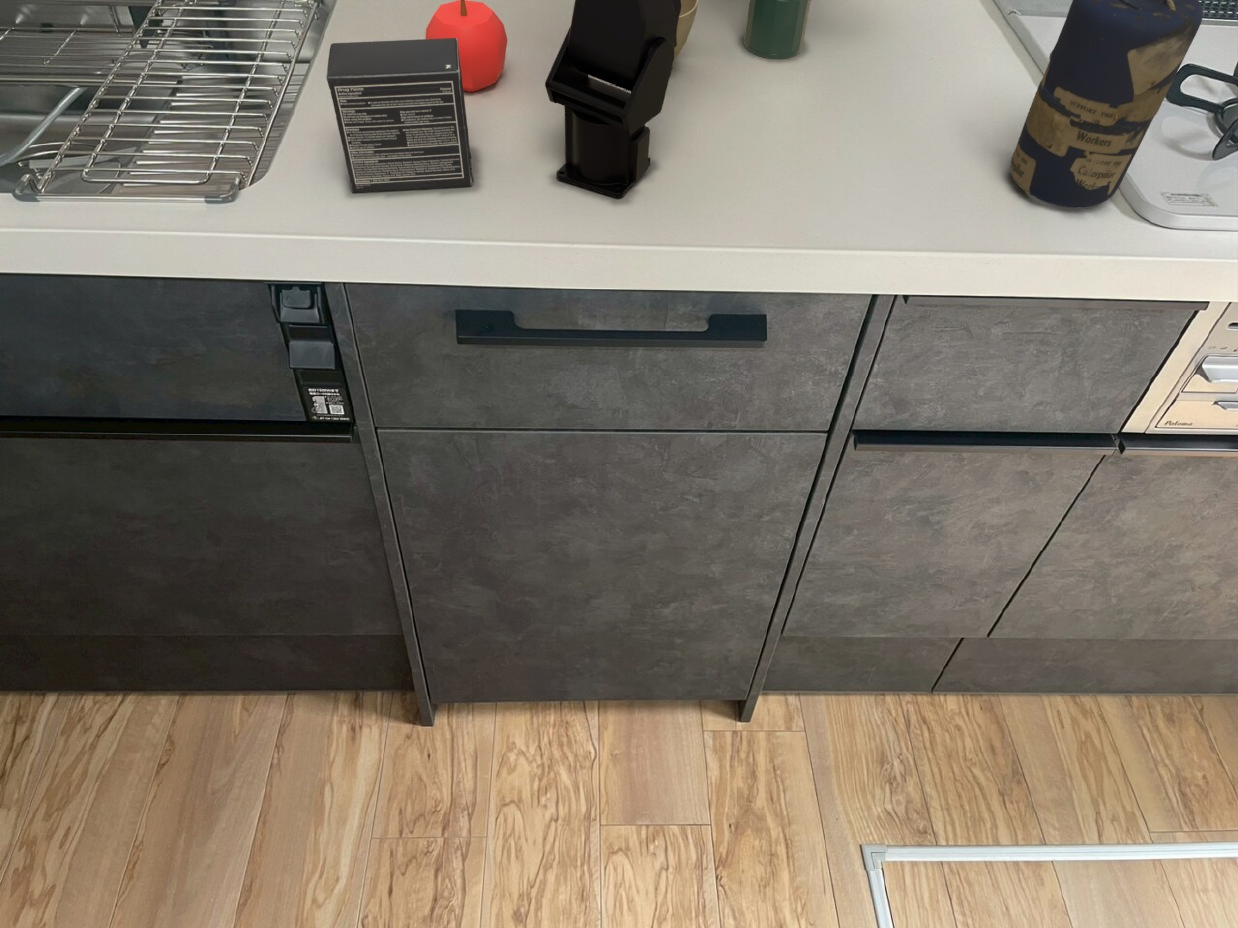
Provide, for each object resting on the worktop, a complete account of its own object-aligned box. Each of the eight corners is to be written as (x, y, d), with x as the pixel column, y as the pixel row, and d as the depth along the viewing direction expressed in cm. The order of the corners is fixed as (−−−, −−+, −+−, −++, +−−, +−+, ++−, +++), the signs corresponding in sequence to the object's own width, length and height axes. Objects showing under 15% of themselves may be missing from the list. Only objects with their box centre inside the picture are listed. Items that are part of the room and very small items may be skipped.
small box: (471, 147, 86) (459, 33, 78) (474, 188, 82) (462, 72, 74) (352, 153, 85) (329, 38, 77) (350, 194, 81) (324, 77, 73)
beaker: (735, 50, 100) (742, -8, 95) (755, 26, 103) (763, -31, 99) (790, 64, 98) (800, 6, 93) (809, 40, 102) (820, -18, 97)
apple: (475, 109, 90) (468, 26, 84) (412, 84, 93) (401, 1, 87) (526, 76, 95) (522, -5, 88) (464, 53, 97) (457, -28, 91)
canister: (1034, 221, 81) (1127, 11, 68) (986, 161, 87) (1062, -44, 73) (1133, 211, 83) (1244, 4, 69) (1079, 152, 89) (1171, -50, 75)
